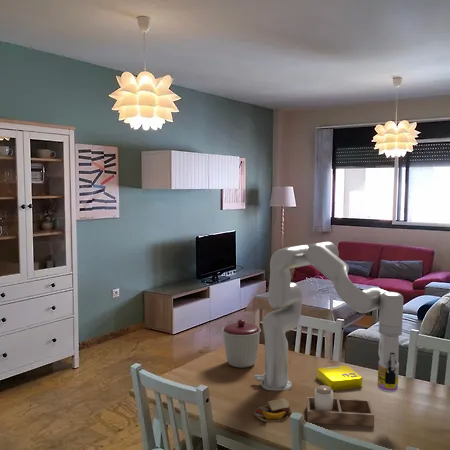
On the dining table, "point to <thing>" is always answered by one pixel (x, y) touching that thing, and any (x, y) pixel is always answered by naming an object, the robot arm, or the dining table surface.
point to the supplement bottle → (381, 378)
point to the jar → (323, 398)
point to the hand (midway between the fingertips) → (387, 378)
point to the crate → (342, 412)
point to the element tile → (339, 377)
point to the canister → (241, 343)
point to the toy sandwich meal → (273, 411)
